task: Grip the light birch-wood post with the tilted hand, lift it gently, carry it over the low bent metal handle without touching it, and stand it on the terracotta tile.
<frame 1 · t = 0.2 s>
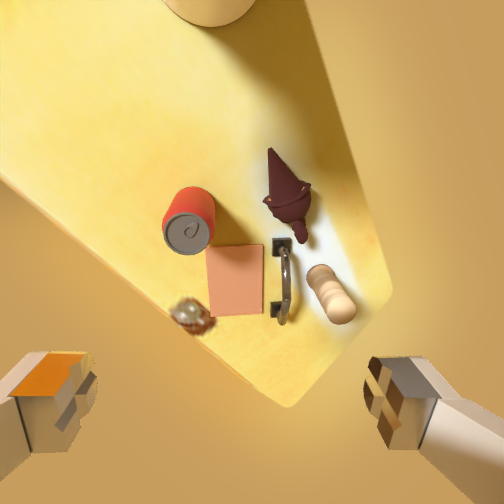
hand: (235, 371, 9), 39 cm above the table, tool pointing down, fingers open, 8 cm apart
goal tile: (235, 281, 52), on the table
birch post: (319, 276, 54), on the table
beer can: (194, 206, 46), on the table
icecream: (282, 191, 47), on the table
bent metal handle: (279, 278, 53), on the table
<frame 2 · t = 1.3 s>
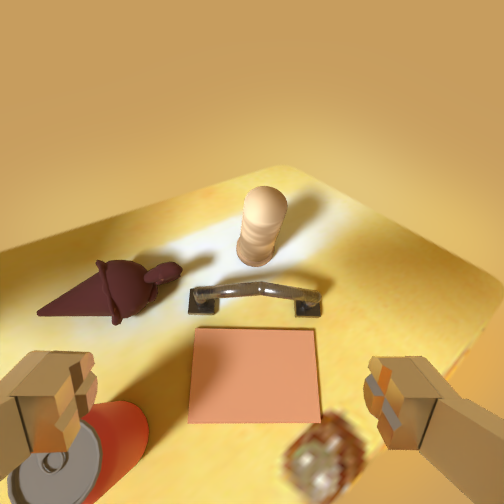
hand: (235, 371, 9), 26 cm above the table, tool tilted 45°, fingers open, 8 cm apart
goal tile: (254, 373, 33), on the table
birch post: (254, 249, 40), on the table
beer can: (117, 436, 30), on the table
icecream: (124, 299, 35), on the table
bent metal handle: (254, 304, 36), on the table
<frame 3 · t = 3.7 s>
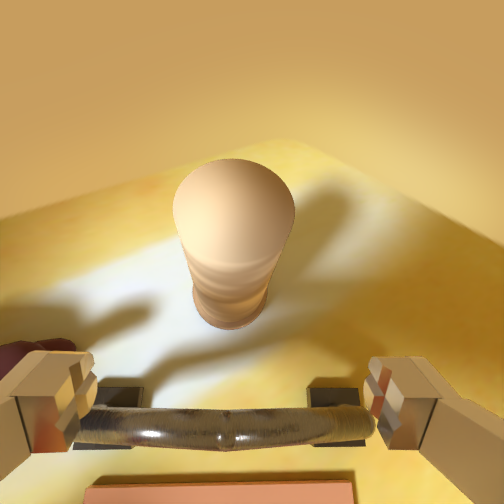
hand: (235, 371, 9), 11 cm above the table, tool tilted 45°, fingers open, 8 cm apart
birch post: (230, 293, 21), on the table
bent metal handle: (225, 415, 17), on the table
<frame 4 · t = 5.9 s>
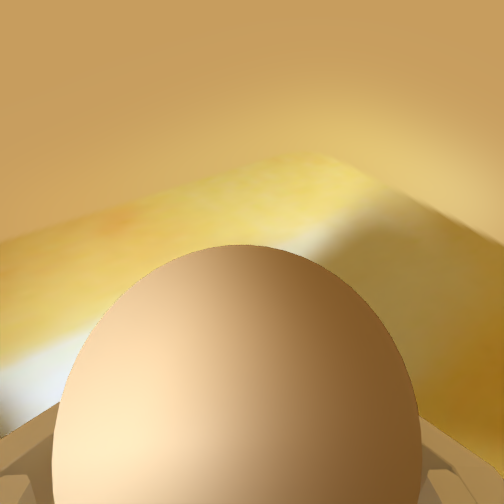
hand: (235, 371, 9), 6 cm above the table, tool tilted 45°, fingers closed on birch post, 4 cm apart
birch post: (232, 392, 14), on the table, touching gripper
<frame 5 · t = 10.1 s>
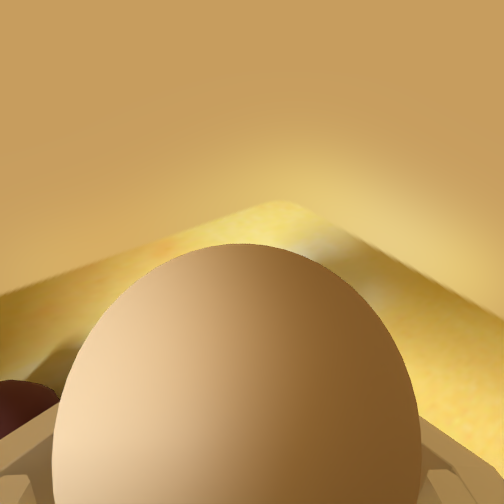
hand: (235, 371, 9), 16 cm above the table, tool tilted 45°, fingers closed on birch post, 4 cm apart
birch post: (231, 391, 14), point 11 cm above the table, touching gripper
icecream: (24, 432, 21), on the table
when the fingers open (7 cm above the table, at t = 14.2 s): birch post stays where it is, resting on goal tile.
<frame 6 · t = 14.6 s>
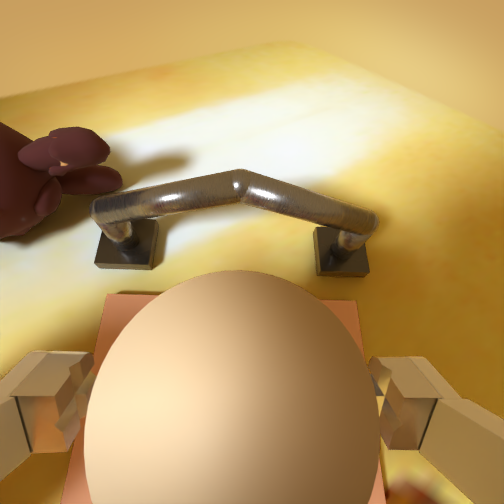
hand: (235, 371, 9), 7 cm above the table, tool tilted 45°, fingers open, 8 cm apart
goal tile: (232, 391, 15), on the table
birch post: (231, 391, 14), point 1 cm above the table, touching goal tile
icecream: (10, 217, 18), on the table
bent metal handle: (236, 250, 18), on the table
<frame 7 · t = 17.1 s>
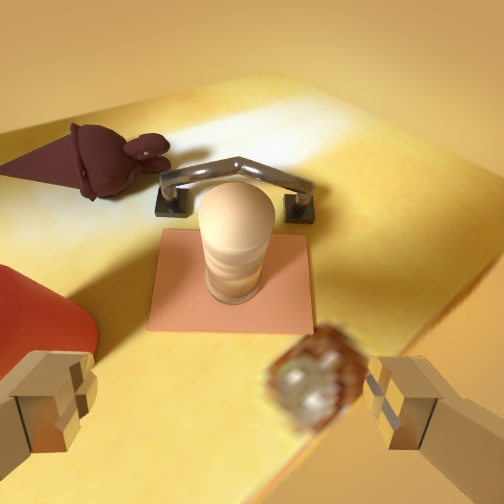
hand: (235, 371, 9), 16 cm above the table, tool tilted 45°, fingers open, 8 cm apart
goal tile: (233, 280, 27), on the table
birch post: (233, 278, 27), point 1 cm above the table, touching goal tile
beer can: (60, 345, 24), on the table
icecream: (104, 185, 31), on the table
bent metal handle: (236, 207, 31), on the table
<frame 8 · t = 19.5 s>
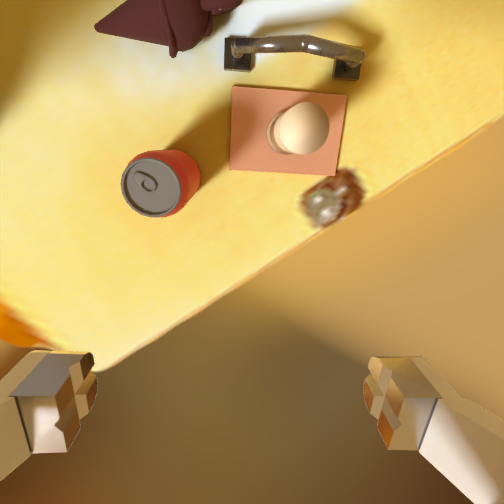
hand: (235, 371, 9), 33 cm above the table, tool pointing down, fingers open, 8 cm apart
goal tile: (285, 133, 37), on the table
birch post: (286, 133, 37), point 1 cm above the table, touching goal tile
beer can: (176, 175, 39), on the table
icecream: (175, 27, 33), on the table
bent metal handle: (292, 61, 35), on the table
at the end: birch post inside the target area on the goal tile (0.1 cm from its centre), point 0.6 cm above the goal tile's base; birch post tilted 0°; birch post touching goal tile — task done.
